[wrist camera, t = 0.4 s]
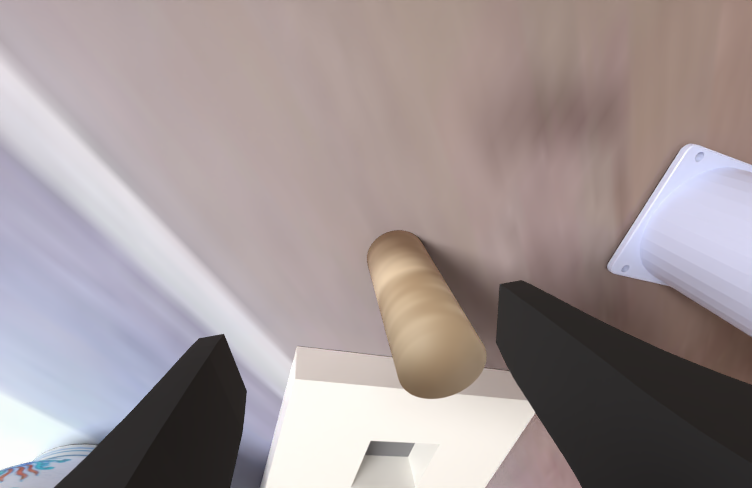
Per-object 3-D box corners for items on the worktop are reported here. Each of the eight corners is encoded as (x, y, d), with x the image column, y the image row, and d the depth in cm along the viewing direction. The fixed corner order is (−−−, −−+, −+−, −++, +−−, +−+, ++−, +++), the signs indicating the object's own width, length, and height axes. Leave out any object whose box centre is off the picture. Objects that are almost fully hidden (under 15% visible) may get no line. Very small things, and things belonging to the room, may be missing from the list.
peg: (432, 236, 19) (501, 337, 12) (413, 285, 20) (465, 402, 13) (376, 224, 18) (415, 324, 11) (360, 276, 20) (385, 395, 13)
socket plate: (522, 372, 25) (542, 401, 23) (450, 490, 31) (460, 523, 29) (297, 346, 21) (295, 378, 19) (259, 488, 27) (254, 526, 24)
